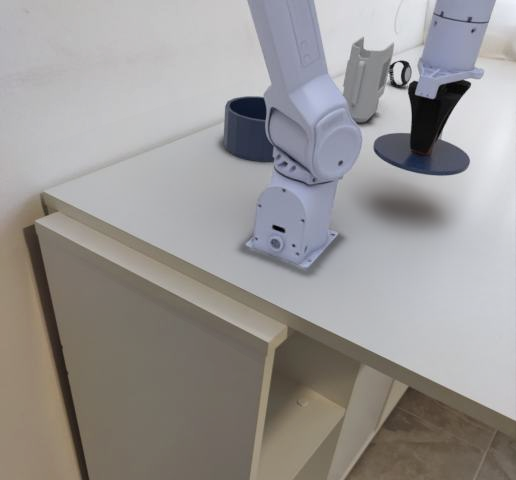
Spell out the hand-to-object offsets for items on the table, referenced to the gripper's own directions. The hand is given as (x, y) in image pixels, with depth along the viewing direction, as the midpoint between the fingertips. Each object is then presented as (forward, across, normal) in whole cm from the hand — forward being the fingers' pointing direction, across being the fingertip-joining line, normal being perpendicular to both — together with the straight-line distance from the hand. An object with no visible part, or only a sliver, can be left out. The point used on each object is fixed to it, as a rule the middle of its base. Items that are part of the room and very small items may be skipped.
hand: (422, 146), depth 64 cm
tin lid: (+1, 0, 0) cm, 1 cm away
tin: (+9, +8, +26) cm, 29 cm away
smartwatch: (+10, +59, +19) cm, 63 cm away
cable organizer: (+10, +35, +19) cm, 41 cm away
